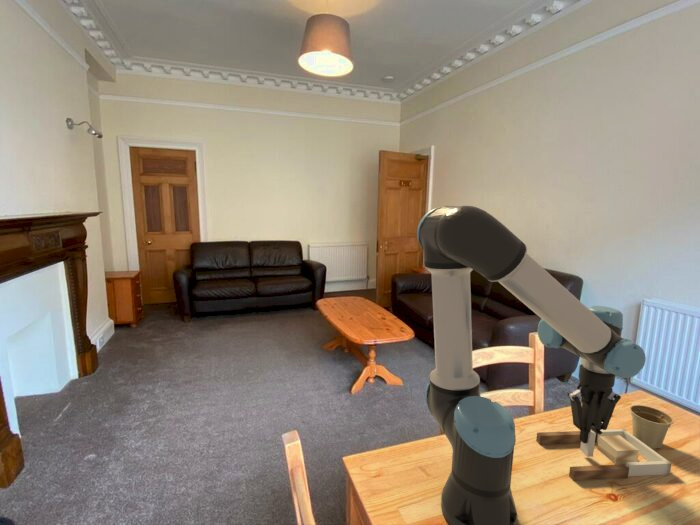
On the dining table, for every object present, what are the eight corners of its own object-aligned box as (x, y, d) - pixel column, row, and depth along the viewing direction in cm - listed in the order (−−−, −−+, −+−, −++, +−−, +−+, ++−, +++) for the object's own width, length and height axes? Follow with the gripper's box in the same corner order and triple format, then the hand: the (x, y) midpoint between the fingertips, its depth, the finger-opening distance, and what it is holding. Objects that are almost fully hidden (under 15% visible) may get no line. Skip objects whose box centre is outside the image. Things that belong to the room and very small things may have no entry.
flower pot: (677, 456, 95) (682, 426, 94) (637, 451, 97) (641, 421, 96) (655, 434, 104) (659, 407, 103) (619, 430, 106) (622, 403, 105)
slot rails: (573, 480, 86) (574, 471, 85) (536, 440, 101) (537, 432, 100) (627, 478, 87) (629, 468, 87) (583, 438, 102) (584, 430, 101)
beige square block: (615, 465, 92) (617, 450, 91) (597, 449, 98) (599, 436, 97) (636, 464, 92) (639, 450, 92) (617, 448, 98) (619, 435, 97)
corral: (628, 476, 87) (629, 465, 87) (586, 439, 101) (587, 430, 101) (669, 474, 88) (671, 463, 88) (622, 438, 102) (624, 428, 102)
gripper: (583, 374, 86) (572, 464, 89) (634, 374, 87) (621, 462, 90) (563, 361, 93) (553, 444, 97) (609, 361, 94) (598, 443, 98)
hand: (586, 453), depth 94 cm, fingers closed
